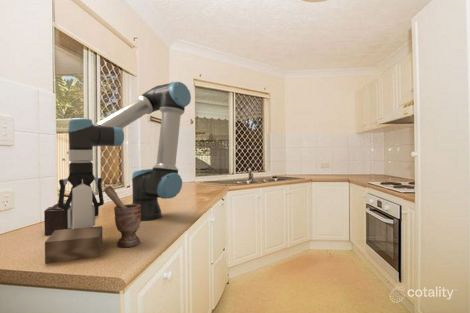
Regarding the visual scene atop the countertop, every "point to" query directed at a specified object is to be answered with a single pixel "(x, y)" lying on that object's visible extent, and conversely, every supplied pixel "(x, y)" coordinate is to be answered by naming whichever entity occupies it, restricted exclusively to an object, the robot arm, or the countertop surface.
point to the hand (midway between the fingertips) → (82, 226)
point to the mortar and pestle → (125, 219)
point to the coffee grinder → (55, 219)
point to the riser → (73, 244)
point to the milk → (81, 207)
